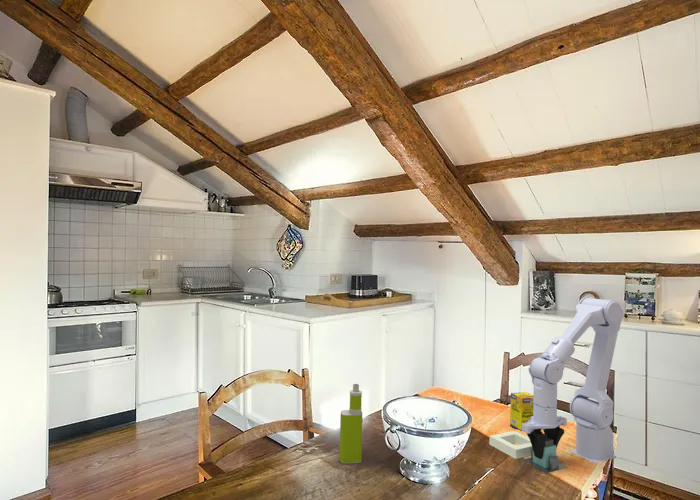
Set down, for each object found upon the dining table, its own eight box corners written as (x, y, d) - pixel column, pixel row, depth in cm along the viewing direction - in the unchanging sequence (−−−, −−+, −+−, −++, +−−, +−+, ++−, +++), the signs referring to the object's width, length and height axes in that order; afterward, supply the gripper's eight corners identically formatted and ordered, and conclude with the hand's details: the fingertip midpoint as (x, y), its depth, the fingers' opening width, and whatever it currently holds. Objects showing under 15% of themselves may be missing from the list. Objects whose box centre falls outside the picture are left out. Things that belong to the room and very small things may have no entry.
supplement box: (521, 433, 137) (521, 398, 137) (509, 425, 143) (510, 392, 143) (537, 431, 138) (537, 396, 139) (525, 424, 144) (525, 391, 144)
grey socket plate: (542, 456, 120) (542, 443, 121) (568, 469, 113) (568, 455, 113) (521, 461, 117) (521, 448, 117) (546, 475, 110) (546, 461, 110)
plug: (543, 458, 118) (543, 434, 118) (556, 465, 114) (556, 440, 114) (532, 461, 116) (533, 436, 116) (545, 468, 112) (545, 442, 113)
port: (514, 440, 131) (514, 430, 131) (542, 454, 122) (542, 443, 122) (489, 446, 127) (489, 435, 127) (515, 461, 118) (516, 449, 118)
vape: (362, 462, 115) (364, 386, 115) (340, 463, 114) (342, 387, 114) (360, 456, 118) (362, 382, 119) (338, 457, 118) (340, 383, 118)
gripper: (551, 396, 122) (550, 445, 122) (513, 403, 116) (512, 454, 116) (573, 404, 116) (573, 455, 116) (534, 411, 110) (534, 466, 109)
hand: (544, 455), depth 115 cm, fingers closed on plug, 4 cm apart
